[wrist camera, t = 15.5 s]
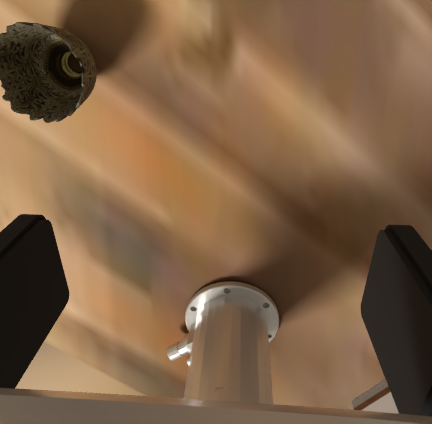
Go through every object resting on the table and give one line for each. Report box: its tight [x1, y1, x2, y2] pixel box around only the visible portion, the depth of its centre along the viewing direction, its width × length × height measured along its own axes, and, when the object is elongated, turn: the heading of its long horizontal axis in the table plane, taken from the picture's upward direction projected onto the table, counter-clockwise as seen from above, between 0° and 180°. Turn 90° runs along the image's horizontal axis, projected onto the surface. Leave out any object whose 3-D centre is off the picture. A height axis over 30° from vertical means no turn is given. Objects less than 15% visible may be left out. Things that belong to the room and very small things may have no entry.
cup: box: [0, 22, 97, 123], centre depth 32 cm, size 8×7×8 cm
